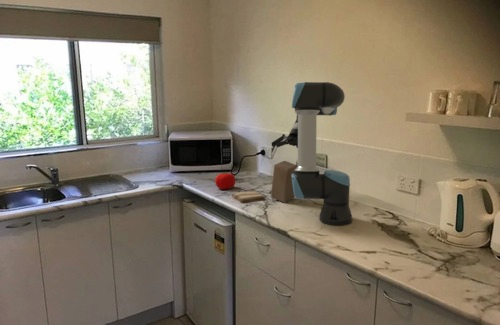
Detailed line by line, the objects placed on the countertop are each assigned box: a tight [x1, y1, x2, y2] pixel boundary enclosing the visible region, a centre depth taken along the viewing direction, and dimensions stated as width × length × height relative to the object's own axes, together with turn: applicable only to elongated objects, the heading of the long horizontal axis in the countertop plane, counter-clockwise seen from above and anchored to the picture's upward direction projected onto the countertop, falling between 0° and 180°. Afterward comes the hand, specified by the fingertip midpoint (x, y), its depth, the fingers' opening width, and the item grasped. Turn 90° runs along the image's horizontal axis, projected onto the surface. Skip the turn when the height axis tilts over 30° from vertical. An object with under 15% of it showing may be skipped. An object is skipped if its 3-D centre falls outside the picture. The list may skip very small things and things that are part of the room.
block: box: [270, 160, 298, 204], centre depth 212 cm, size 10×10×20 cm
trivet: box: [231, 190, 266, 204], centre depth 220 cm, size 14×14×2 cm
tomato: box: [214, 172, 236, 190], centre depth 239 cm, size 11×13×10 cm
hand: (284, 160), depth 211 cm, fingers open, 14 cm apart
